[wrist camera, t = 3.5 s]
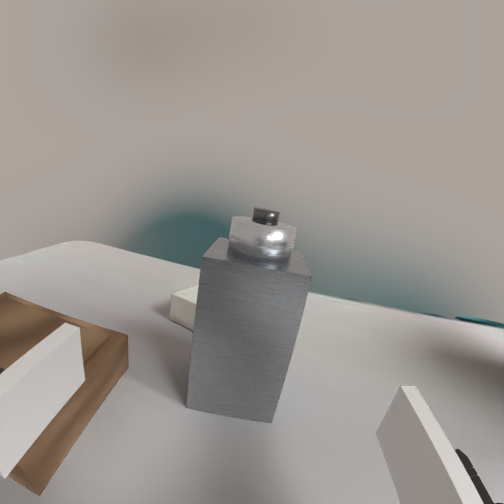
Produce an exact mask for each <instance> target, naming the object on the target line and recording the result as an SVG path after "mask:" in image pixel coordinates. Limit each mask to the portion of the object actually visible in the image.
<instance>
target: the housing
mask: <svg viewBox="0 0 504 504" xmlns="http://www.w3.org/2000/svg"><path fill="white" fill-rule="evenodd" d="M279 214H280V212H278V211H274V210H270V209H265V208H256V207H255V208H254V212H253V217H247V216H234V217H233V218H232V224H231V230H230V236H229V239H226V238H220V237H219V239H217V241H216V242H215V243H214V244H213V245H212V246H211V247H210V248H209V249H208V251H207V252H206V253H205V254H204V255H203V256H202V263H201V270H200V278H199V286H198V294H197V302H196V311H195V319H194V329H193V338H192V348H191V358H190V368H189V379H188V391H187V404H186V408H189V409H194V410H198V411H203V412H208V413H212V414H217V415H223V416H228V417H234V418H240V419H246V420H252V421H259V422H267V423H272V420H273V416H274V413H275V410H276V407H277V404H278V400H279V397H280V394H281V390H282V387H283V384H284V380H285V377H286V373H287V370H288V366H289V363H290V359H291V356H292V352H293V348H294V345H295V341H296V337H297V334H298V330H299V326H300V322H301V318H302V314H303V310H304V306H305V302H306V298H307V294H308V290H309V286H310V282H311V277H312V276H311V273H310V271H309V269H308V267H307V264H306V262H305V260H304V258H303V256H302V254H301V252H298V251H293V250H292V249H293V244H294V239H295V234H296V228H295V227H293V226H291V225H288V224H284V223H281V222H278V219H279Z"/></svg>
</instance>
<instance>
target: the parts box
mask: <svg viewBox="0 0 504 504" xmlns="http://www.w3.org/2000/svg"><path fill="white" fill-rule="evenodd" d="M198 286H199V284H198V285H195V286H192V287H189V288H186V289H183V290H180V291H177V292H174V293H172V294H171V306H170V320H172V321H174V322H176V323H178V324H180V325H182V326H184V327H186V328H188V329H190V330H192V331H193V329H194V319H195V311H196V302H197V294H198Z"/></svg>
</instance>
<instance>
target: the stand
mask: <svg viewBox="0 0 504 504" xmlns="http://www.w3.org/2000/svg"><path fill="white" fill-rule="evenodd" d="M64 323H68V324H71V325H73V326H76V327H79V328H80V337H81V348H82V357H83V366H84V374H85V381H84V382H83V384H82V385H81V386H80V387H79V388H78V389H77V391H76V392H75V393H74V394H73V395H72V397H71V398H70V399H69V400H68V401H67V402H66V404H65V405H64V406H63V407H62V408H61V410H60V411H59V412H58V413H57V414H56V416H55V417H54V418H53V419H52V420H51V422H50V423H49V424H48V425H47V427H46V428H45V429H44V430H43V431H42V433H41V434H40V435H39V436H38V438H37V439H36V440H35V441H34V443H33V444H32V445H31V446H30V448H29V449H28V450H27V451H26V453H25V454H24V455H23V457H22V458H21V459H20V460H19V462H18V463H17V464H16V465H15V467H14V468H13V469H12V471H11V472H10V473H9V475H8V476H10V477H11V478H12V479H14V480H15V481H17V482H18V483H20V484H22V485H23V486H25V487H26V488H28V489H29V490H31V491H33V492H34V493H36V494H38V495H39V496H40V494H41V493H42V491H43V489H44V488H45V486H46V485H47V483H48V482H49V480H50V479H51V477H52V476H53V474H54V473H55V471H56V470H57V468H58V467H59V465H60V464H61V462H62V461H63V459H64V458H65V456H66V455H67V453H68V452H69V450H70V449H71V447H72V446H73V444H74V443H75V441H76V440H77V438H78V437H79V436H80V434H81V433H82V431H83V430H84V428H85V427H86V425H87V424H88V422H89V421H90V420H91V418H92V417H93V415H94V414H95V412H96V411H97V410H98V408H99V407H100V405H101V404H102V402H103V401H104V400H105V398H106V397H107V395H108V394H109V393H110V391H111V390H112V388H113V387H114V386H115V384H116V383H117V381H118V380H119V379H120V377H121V376H122V374H123V373H124V372H125V370H126V369H127V368H128V335H126V334H123V333H119V332H116V331H113V330H109V329H106V328H103V327H99V326H96V325H93V324H90V323H87V322H84V321H81V320H78V319H75V318H72V317H69V316H66V315H63V314H60V313H58V312H55V311H52V310H49V309H47V308H44V307H41V306H39V305H36V304H34V303H31V302H28V301H26V300H23V299H21V298H19V297H16V296H14V295H11V294H9V293H7V292H4V293H2V294H0V368H3V369H5V370H6V369H7V368H8V367H10V366H11V365H12V364H13V363H14V362H16V361H17V360H18V359H19V358H21V357H22V356H23V355H24V354H26V353H27V352H28V351H29V350H31V349H32V348H33V347H34V346H36V345H37V344H38V343H39V342H41V341H42V340H43V339H45V338H46V337H47V336H48V335H50V334H51V333H52V332H54V331H55V330H56V329H58V328H59V327H60V326H62V325H63V324H64Z"/></svg>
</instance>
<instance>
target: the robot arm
mask: <svg viewBox="0 0 504 504" xmlns="http://www.w3.org/2000/svg"><path fill="white" fill-rule="evenodd" d="M84 381H85V374H84V366H83V357H82V348H81V337H80V328H79V327H76V326H73V325H71V324H68V323H64V324H63V325H62V326H60V327H59V328H58V329H56V330H55V331H54V332H52V333H51V334H50V335H48V336H47V337H46V338H45V339H43V340H42V341H41V342H39V343H38V344H37V345H36V346H34V347H33V348H32V349H31V350H29V351H28V352H27V353H26V354H24V355H23V356H22V357H21V358H19V359H18V360H17V361H16V362H14V363H13V364H12V365H11V366H10V367H8V368H7V369H6V370H5V369H3V368H0V476H1V477H3V478H4V479H6V477H7V476H8V475H9V473H10V472H11V471H12V469H13V468H14V467H15V465H16V464H17V463H18V462H19V460H20V459H21V458H22V457H23V455H24V454H25V453H26V451H27V450H28V449H29V448H30V446H31V445H32V444H33V443H34V441H35V440H36V439H37V438H38V436H39V435H40V434H41V433H42V431H43V430H44V429H45V428H46V427H47V425H48V424H49V423H50V422H51V420H52V419H53V418H54V417H55V416H56V414H57V413H58V412H59V411H60V410H61V408H62V407H63V406H64V405H65V404H66V402H67V401H68V400H69V399H70V398H71V397H72V395H73V394H74V393H75V392H76V391H77V389H78V388H79V387H80V386H81V385H82V384H83V382H84ZM376 434H377V437H378V440H379V442H380V445H381V448H382V451H383V453H384V456H385V459H386V462H387V464H388V467H389V470H390V473H391V476H392V479H393V482H394V485H395V487H396V490H397V493H398V496H399V499H400V502H401V504H494V503H493V501H492V500H491V498H490V496H489V494H488V492H487V490H486V488H485V487H484V485H483V483H482V481H481V479H480V478H479V476H477V472H476V471H475V469H474V468H473V466H472V464H471V462H470V460H469V459H468V457H467V456H466V455H465V454H464V453H463V452H461V451H460V450H459V449H455V450H454V448H453V447H452V445H451V443H450V442H449V440H448V438H447V436H446V435H445V433H444V431H443V430H442V428H441V426H440V425H439V423H438V421H437V420H436V418H435V417H434V415H433V413H432V412H431V410H430V408H429V407H428V405H427V404H426V402H425V400H424V399H423V397H422V396H421V394H420V393H419V391H418V389H417V388H416V386H400V388H399V390H398V392H397V394H396V396H395V398H394V400H393V402H392V404H391V406H390V408H389V410H388V412H387V414H386V415H385V417H384V419H383V421H382V423H381V425H380V426H379V428H378V430H377V432H376ZM495 504H503V503H495Z"/></svg>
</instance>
